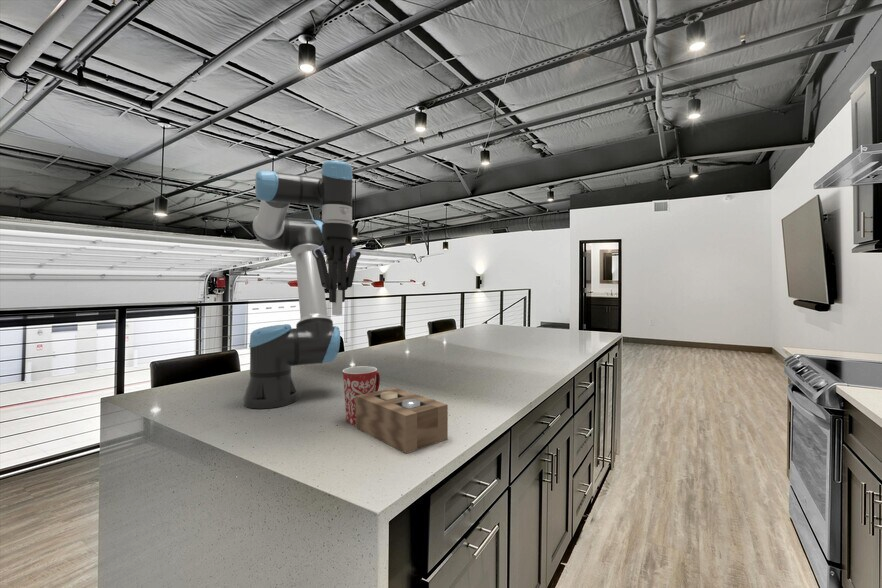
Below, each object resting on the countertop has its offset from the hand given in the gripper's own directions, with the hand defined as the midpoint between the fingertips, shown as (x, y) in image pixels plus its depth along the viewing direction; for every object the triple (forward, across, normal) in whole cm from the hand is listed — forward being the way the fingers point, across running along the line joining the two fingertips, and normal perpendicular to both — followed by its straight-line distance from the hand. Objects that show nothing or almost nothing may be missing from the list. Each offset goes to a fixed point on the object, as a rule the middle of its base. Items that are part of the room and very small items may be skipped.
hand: (337, 315), depth 101 cm
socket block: (+28, +7, -18) cm, 34 cm away
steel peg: (+27, +7, -22) cm, 36 cm away
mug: (+28, +7, -3) cm, 29 cm away
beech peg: (+27, +7, -13) cm, 31 cm away
